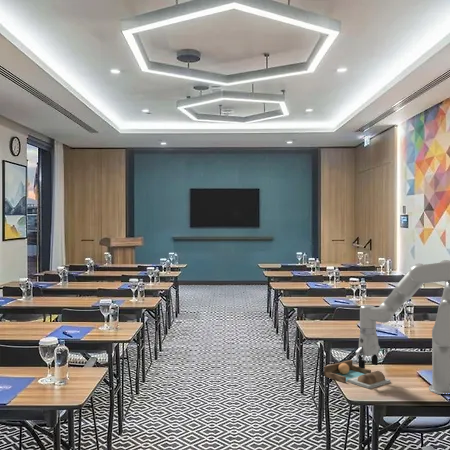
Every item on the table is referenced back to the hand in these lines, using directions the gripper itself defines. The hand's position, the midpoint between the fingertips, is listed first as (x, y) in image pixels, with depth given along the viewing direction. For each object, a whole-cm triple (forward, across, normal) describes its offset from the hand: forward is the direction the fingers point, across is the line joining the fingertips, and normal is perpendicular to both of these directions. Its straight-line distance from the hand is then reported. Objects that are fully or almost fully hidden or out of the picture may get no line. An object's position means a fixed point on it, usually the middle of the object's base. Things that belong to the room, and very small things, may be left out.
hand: (368, 366), depth 245 cm
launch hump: (+10, 0, -2) cm, 10 cm away
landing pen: (+7, 0, +13) cm, 15 cm away
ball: (+7, 0, +16) cm, 17 cm away
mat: (+7, 0, +12) cm, 14 cm away
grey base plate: (+8, 0, 0) cm, 8 cm away
